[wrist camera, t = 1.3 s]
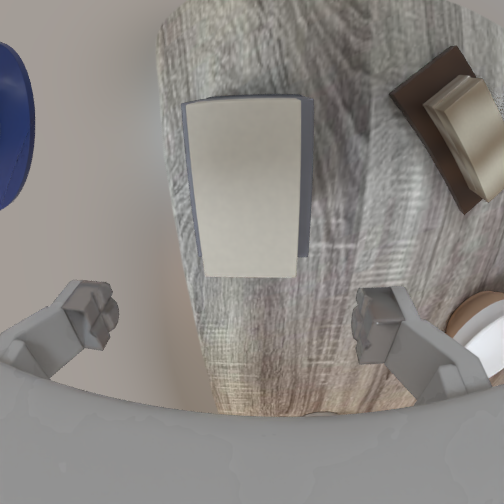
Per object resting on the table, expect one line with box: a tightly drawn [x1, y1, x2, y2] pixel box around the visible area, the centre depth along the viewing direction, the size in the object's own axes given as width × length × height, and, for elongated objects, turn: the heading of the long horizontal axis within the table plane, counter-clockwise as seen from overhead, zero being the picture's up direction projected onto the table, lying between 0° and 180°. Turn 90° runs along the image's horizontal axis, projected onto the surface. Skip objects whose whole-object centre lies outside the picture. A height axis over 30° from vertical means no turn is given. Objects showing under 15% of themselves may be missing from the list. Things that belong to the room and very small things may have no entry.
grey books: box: [181, 94, 314, 257], centre depth 23 cm, size 11×8×10 cm
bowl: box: [446, 291, 504, 378], centre depth 34 cm, size 16×16×8 cm
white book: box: [186, 98, 301, 278], centre depth 18 cm, size 11×6×2 cm, turn 2°
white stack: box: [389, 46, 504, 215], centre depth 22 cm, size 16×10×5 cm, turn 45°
